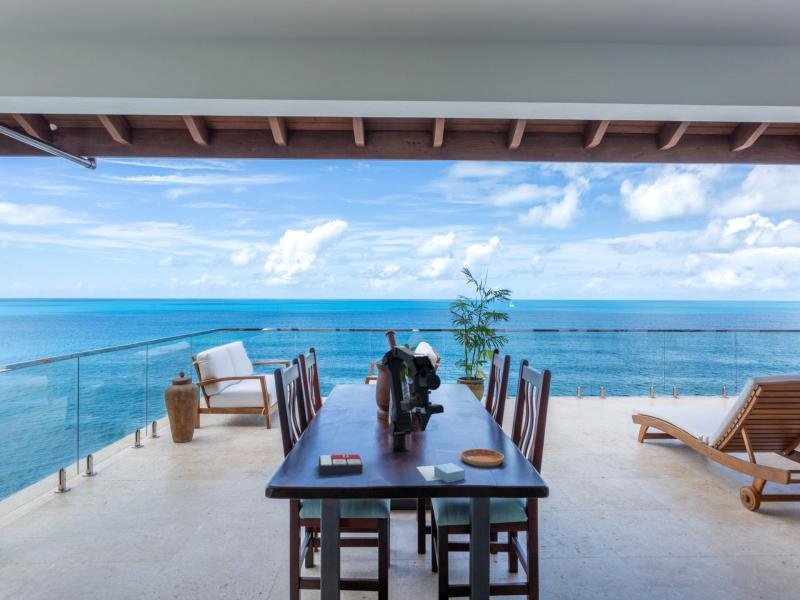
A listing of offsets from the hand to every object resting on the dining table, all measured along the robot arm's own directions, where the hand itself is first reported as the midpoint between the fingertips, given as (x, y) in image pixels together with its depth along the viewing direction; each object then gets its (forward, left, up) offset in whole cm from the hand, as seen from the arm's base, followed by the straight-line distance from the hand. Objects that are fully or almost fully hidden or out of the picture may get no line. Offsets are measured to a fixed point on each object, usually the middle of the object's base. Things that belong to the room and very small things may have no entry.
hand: (422, 431), depth 168 cm
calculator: (-3, -30, -13) cm, 33 cm away
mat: (+10, +3, -12) cm, 16 cm away
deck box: (+11, +4, -10) cm, 16 cm away
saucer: (+2, +23, -13) cm, 26 cm away
